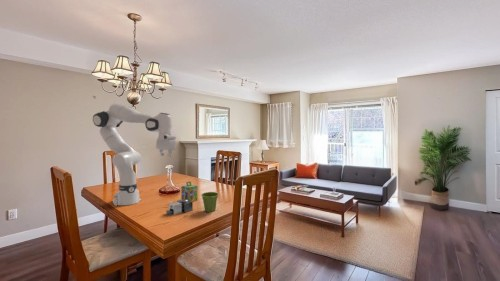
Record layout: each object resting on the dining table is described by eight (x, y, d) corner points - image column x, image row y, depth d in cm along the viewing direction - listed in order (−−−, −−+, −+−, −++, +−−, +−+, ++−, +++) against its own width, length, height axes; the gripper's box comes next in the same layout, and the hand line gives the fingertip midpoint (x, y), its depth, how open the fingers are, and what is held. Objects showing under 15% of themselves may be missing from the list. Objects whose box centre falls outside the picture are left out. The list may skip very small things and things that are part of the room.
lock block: (168, 212, 156) (168, 203, 155) (177, 210, 160) (176, 201, 160) (173, 214, 152) (173, 205, 152) (182, 212, 157) (181, 203, 156)
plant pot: (197, 210, 161) (197, 194, 160) (212, 206, 169) (212, 191, 168) (207, 214, 152) (207, 197, 152) (222, 210, 160) (222, 194, 160)
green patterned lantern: (189, 203, 177) (188, 183, 176) (180, 201, 182) (180, 182, 181) (198, 200, 185) (197, 181, 184) (189, 198, 190) (189, 180, 189)
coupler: (163, 213, 155) (163, 203, 155) (184, 207, 167) (184, 197, 167) (171, 216, 148) (171, 206, 148) (192, 210, 160) (192, 200, 160)
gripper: (153, 136, 166) (154, 155, 167) (168, 136, 153) (169, 157, 153) (162, 136, 171) (162, 154, 172) (177, 136, 158) (177, 156, 158)
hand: (165, 156), depth 162 cm, fingers open, 8 cm apart
